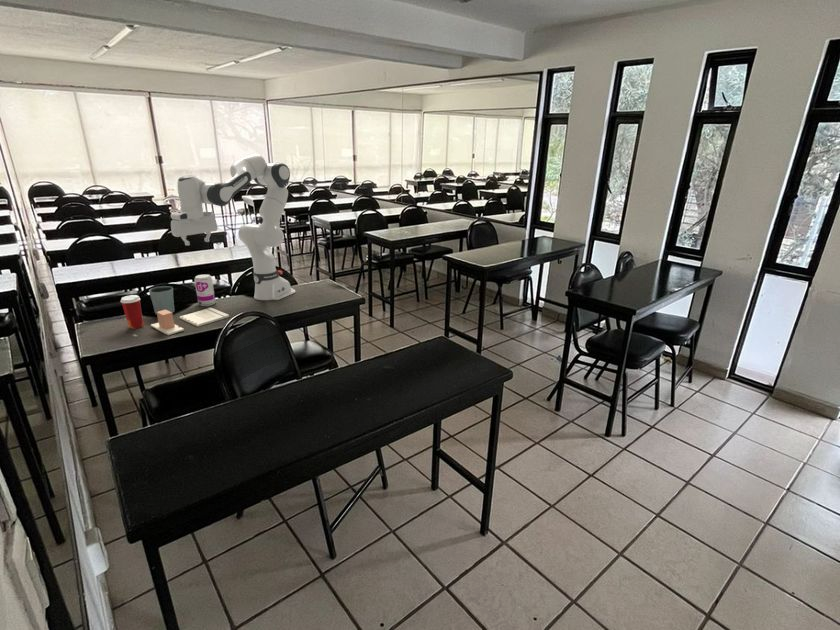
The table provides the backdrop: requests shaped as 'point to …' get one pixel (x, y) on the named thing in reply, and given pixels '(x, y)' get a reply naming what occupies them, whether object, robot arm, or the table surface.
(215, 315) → the white flat square board
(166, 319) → the stub
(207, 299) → the supplement can
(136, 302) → the paper cup
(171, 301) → the drinking glass
